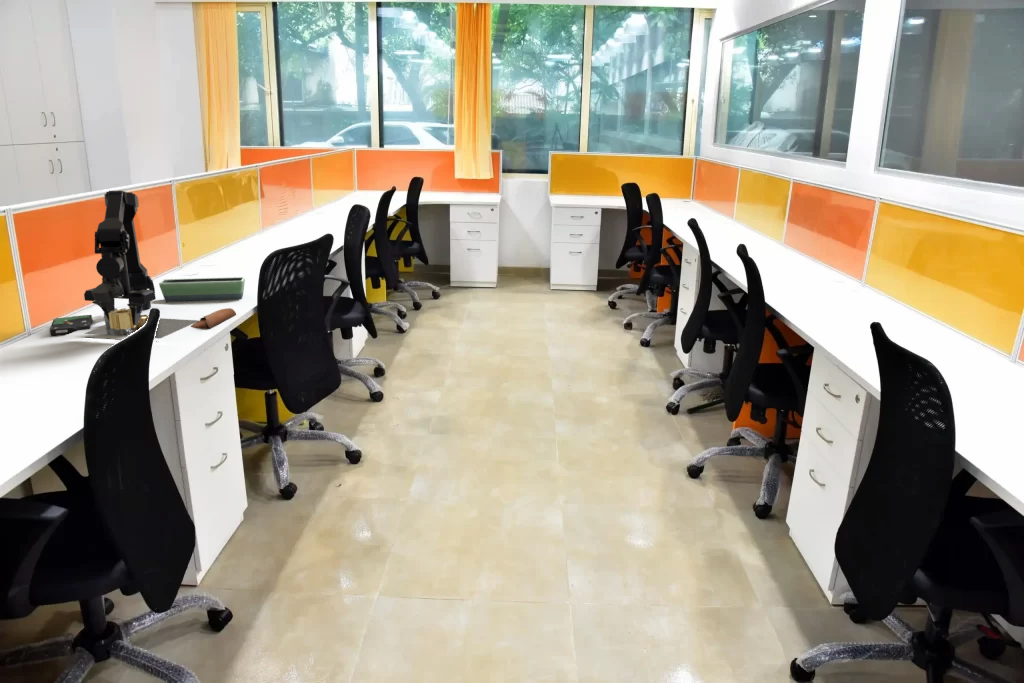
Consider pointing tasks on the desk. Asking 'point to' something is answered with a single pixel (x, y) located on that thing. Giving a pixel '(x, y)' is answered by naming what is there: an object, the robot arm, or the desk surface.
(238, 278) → the planter
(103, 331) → the carrier
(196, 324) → the sunglasses case
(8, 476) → the desk surface
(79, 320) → the disk drive
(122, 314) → the brass gear
